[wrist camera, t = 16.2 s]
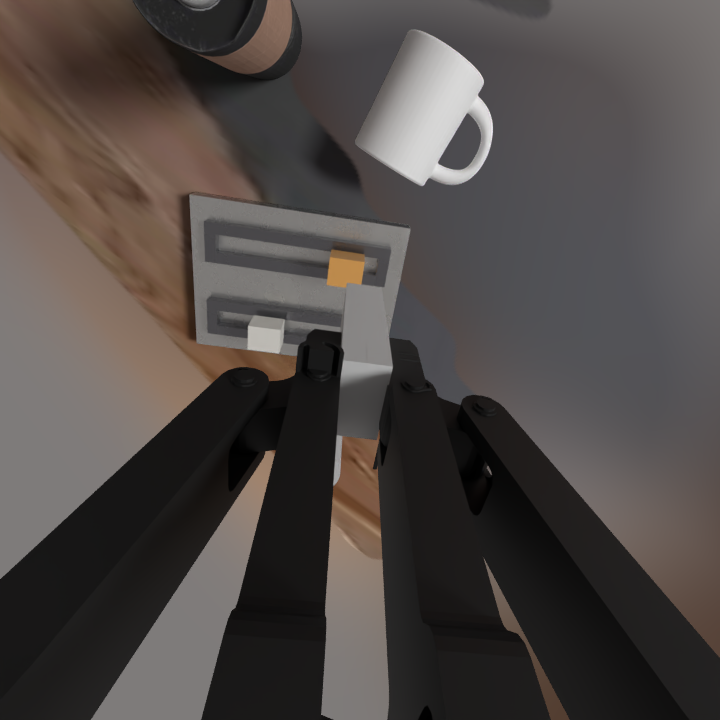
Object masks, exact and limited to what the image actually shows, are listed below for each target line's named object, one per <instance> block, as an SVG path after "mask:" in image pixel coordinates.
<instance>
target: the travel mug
mask: <svg viewBox="0 0 720 720" xmlns="http://www.w3.org/2000/svg"><path fill="white" fill-rule="evenodd" d="M133 2H134V4H135V6H136V7H137V9H138V10H139V11H140V13H141V14H142V16H143V17H144V18H145V19H146V20H147V22H148V23H149V24H150V25H151V26H152V27H153V28H154V29H155V30H156V31H157V32H158V33H160V34H161V35H162V36H164V37H165V38H166V39H168V40H169V41H171V42H173V43H174V44H176V45H178V46H180V47H182V48H185V49H187V50H189V51H191V52H193V53H195V54H197V55H200V56H202V57H204V58H206V59H208V60H210V61H212V62H214V63H217V64H219V65H221V66H223V67H225V68H227V69H229V70H232V71H234V72H237V73H241V74H244V75H248V76H251V77H255V78H259V79H265V80H271V79H276V78H279V77H281V76H283V75H285V74H286V73H287V72H289V71H290V69H291V68H292V67H293V66H294V64H295V63H296V61H297V59H298V56H299V53H300V49H301V43H302V32H301V25H300V21H299V18H298V15H297V12H296V10H295V7H294V5H293V2H292V0H133Z"/></svg>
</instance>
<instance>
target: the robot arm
mask: <svg viewBox="0 0 720 720" xmlns="http://www.w3.org/2000/svg"><path fill="white" fill-rule="evenodd" d="M379 430H380V440H379V444H378V449H377V453H376V457H375V462H374V466H373V469H377V466H378V480H379V500H380V520H381V539H382V559H383V577H384V578H383V579H384V598H385V616H386V617H385V618H386V638H387V657H388V678H389V711H388V719H387V720H551V719H550V716H549V713H548V710H547V707H546V704H545V701H544V698H543V695H542V691H541V688H540V685H539V682H538V679H537V676H536V673H535V669H534V666H533V663H532V660H531V657H530V655H529V652H528V650H527V647H526V645H525V643H524V641H523V640H522V639H521V638H520V636H519V635H518V634H517V633H514V632H511V631H508V630H507V629H506V628H505V627H504V625H503V623H502V621H501V618H500V615H499V611H498V608H497V604H496V601H495V597H494V594H493V590H492V586H491V583H490V580H489V576H488V572H487V569H486V565H485V562H484V559H485V561H486V563H487V564H488V566H489V568H490V570H491V572H492V574H493V576H494V578H495V579H496V581H497V583H498V585H499V587H500V589H501V591H502V593H503V595H504V596H505V598H506V600H507V602H508V604H509V606H510V608H511V610H512V611H513V613H514V615H515V617H516V619H517V621H518V623H519V625H520V627H521V628H522V630H523V632H524V634H525V636H526V638H527V640H528V642H529V644H530V645H531V647H532V649H533V651H534V653H535V655H536V656H537V659H538V660H539V662H540V664H541V666H542V668H543V670H544V672H545V674H546V676H547V677H548V679H549V681H550V683H551V685H552V687H553V689H554V691H555V692H556V694H557V696H558V698H559V700H560V702H561V704H562V706H563V708H564V709H565V711H566V713H567V715H568V717H569V719H570V720H720V658H719V657H718V655H717V654H716V653H715V652H714V651H713V650H712V649H711V647H710V646H709V645H708V644H707V643H706V642H705V640H704V639H703V638H702V637H701V636H700V635H699V634H698V632H697V631H696V630H695V629H694V628H693V626H692V625H691V624H690V623H689V622H688V621H687V620H686V618H685V617H684V616H683V615H682V614H681V612H680V611H679V610H678V609H677V608H676V607H675V606H674V604H673V603H672V602H671V601H670V600H669V599H668V597H667V596H666V595H665V594H664V593H663V592H662V590H661V589H660V588H659V587H658V586H657V585H656V584H655V582H654V581H653V580H652V579H651V578H650V576H649V575H648V574H647V573H646V572H645V571H644V570H643V568H642V567H641V566H640V565H639V564H638V563H637V561H636V560H635V559H634V558H633V557H632V556H631V554H629V552H628V551H627V550H626V549H625V547H624V546H623V545H622V544H621V543H620V542H619V541H618V539H617V538H616V537H615V536H614V535H613V534H612V532H610V530H609V529H608V528H607V527H606V525H605V524H604V523H603V522H602V521H601V520H600V518H599V517H598V516H597V515H596V514H595V513H594V511H593V510H592V509H591V508H590V507H589V506H588V504H587V503H586V502H585V501H584V500H583V499H582V498H581V497H580V495H579V494H578V493H577V492H576V491H575V489H574V488H573V487H572V486H571V485H570V484H569V482H568V481H567V480H566V479H565V478H564V477H563V476H562V474H561V473H560V472H559V471H558V470H557V469H556V467H555V466H554V465H553V464H552V463H551V462H550V460H549V459H548V458H547V457H546V456H545V455H544V453H543V452H542V451H541V450H540V449H539V448H538V446H537V445H536V444H535V443H534V442H533V441H532V440H531V438H530V437H529V436H528V435H527V434H526V432H525V431H524V430H523V429H522V428H521V427H520V426H519V424H518V423H517V422H516V421H515V420H514V419H513V418H512V416H511V415H510V414H509V413H508V412H507V410H505V408H504V407H503V406H502V405H500V404H499V403H498V402H496V401H494V400H492V399H491V398H488V397H485V396H479V395H471V396H466V397H465V398H463V399H462V402H461V405H459V404H455V403H452V402H449V401H446V400H444V399H441V398H440V397H438V396H437V393H436V389H435V388H434V386H433V384H431V383H430V382H429V381H428V380H426V379H425V377H424V373H423V369H422V365H421V363H420V358H419V354H418V350H417V347H416V346H415V345H414V344H413V343H412V342H411V341H409V340H402V339H395V338H389V335H388V328H387V320H386V313H385V306H384V299H383V292H382V288H381V287H374V286H367V285H360V284H353V283H347V285H346V292H345V299H344V306H343V313H342V320H341V328H340V332H335V331H328V330H320V329H314V330H312V331H311V332H310V333H309V334H307V338H306V341H304V342H302V343H300V345H299V346H298V351H297V363H296V373H295V375H294V376H292V377H290V378H288V379H285V380H279V381H269V379H268V376H267V375H266V374H265V373H264V372H262V371H260V370H257V369H255V368H249V367H239V368H234V369H231V370H228V371H226V372H225V373H223V374H222V375H221V376H219V377H218V378H217V379H216V380H215V381H214V382H213V383H212V384H211V385H210V386H209V387H208V388H207V389H206V390H204V391H203V392H202V393H201V394H200V395H199V396H198V397H197V398H196V399H195V400H194V401H192V402H191V403H190V404H189V405H188V406H187V407H186V408H185V409H184V410H183V411H182V412H181V413H180V414H178V416H176V417H175V418H174V419H173V420H172V421H171V422H170V423H169V424H168V425H167V426H165V427H164V428H163V429H162V430H161V431H160V432H159V433H158V434H157V435H156V436H155V437H154V438H152V439H151V440H150V441H149V442H148V443H147V444H146V445H145V446H144V447H143V448H142V449H141V450H140V451H138V452H137V454H135V455H134V456H133V457H132V458H131V459H130V460H129V461H128V462H127V463H126V464H124V465H123V466H122V467H121V468H120V469H119V470H118V471H117V472H116V473H115V474H114V475H113V476H112V477H110V478H109V479H108V480H107V481H106V482H105V483H104V484H103V485H102V486H101V487H100V488H99V489H97V491H95V492H94V493H93V494H92V495H91V496H90V497H89V498H88V499H87V500H85V502H83V503H82V504H81V505H80V506H79V507H78V508H77V509H76V510H75V511H74V512H73V513H72V514H70V515H69V516H68V517H67V518H66V519H65V520H64V521H63V522H62V523H61V524H60V525H58V527H57V528H55V529H54V530H53V531H52V532H51V533H50V534H49V535H48V536H47V537H46V538H44V539H43V540H42V541H41V542H40V543H39V544H38V545H37V546H36V547H35V548H34V549H33V550H31V551H30V552H29V553H28V554H27V555H26V556H25V557H24V558H23V559H22V560H21V561H20V562H19V563H17V565H15V566H14V567H13V568H12V569H11V570H10V571H9V572H8V573H7V574H6V575H5V576H3V577H2V578H1V579H0V720H91V718H92V717H93V715H94V714H95V712H96V711H97V709H98V708H99V706H100V705H101V703H102V702H103V700H104V699H105V697H106V696H107V694H108V692H109V691H110V690H111V688H112V687H113V685H114V684H115V682H116V680H117V679H118V678H119V676H120V674H121V673H122V671H123V670H124V669H125V667H126V665H127V664H128V662H129V661H130V659H131V658H132V656H133V655H134V653H135V652H136V650H137V649H138V647H139V646H140V644H141V643H142V641H143V640H144V638H145V637H146V635H147V634H148V632H149V631H150V629H151V628H152V626H153V624H154V623H155V622H156V620H157V618H158V617H159V615H160V614H161V612H162V611H163V609H164V608H165V606H166V605H167V603H168V602H169V600H170V599H171V597H172V596H173V594H174V593H175V591H176V590H177V588H178V587H179V585H180V584H181V582H182V581H183V579H184V577H185V576H186V575H187V573H188V572H189V570H190V568H191V567H192V565H193V564H194V562H195V561H196V559H197V558H198V556H199V555H200V553H201V552H202V550H203V549H204V547H205V546H206V544H207V543H208V541H209V540H210V538H211V537H212V535H213V534H214V532H215V531H216V529H217V527H218V526H219V525H220V523H221V522H222V520H223V518H224V517H225V515H226V514H227V512H228V511H229V509H230V508H231V506H232V505H233V503H234V502H235V500H236V499H237V497H238V495H239V494H240V493H241V491H242V490H243V488H244V487H245V485H246V484H247V482H248V480H249V479H250V478H251V476H252V475H253V473H254V471H255V470H256V468H257V467H258V465H259V464H260V462H261V461H262V459H263V458H264V455H265V451H270V450H276V452H275V456H274V460H273V464H272V468H271V472H270V476H269V480H268V484H267V488H266V492H265V496H264V500H263V504H262V508H261V512H260V516H259V520H258V524H257V528H256V532H255V536H254V540H253V544H252V548H251V552H250V557H249V560H248V563H247V567H246V572H245V576H244V579H243V583H242V587H241V591H240V596H239V599H238V602H237V605H236V608H235V609H233V610H232V611H231V614H230V616H229V618H228V622H227V625H226V628H225V632H224V635H223V639H222V643H221V647H220V650H219V654H218V658H217V662H216V666H215V670H214V673H213V678H212V681H211V685H210V688H209V692H208V696H207V700H206V704H205V708H204V711H203V715H202V719H201V720H333V719H330V718H327V717H325V716H323V715H321V706H322V691H323V690H322V689H323V675H324V659H325V642H326V617H325V600H326V585H327V571H328V556H329V541H330V527H331V512H332V497H333V483H334V468H335V453H336V439H337V435H339V436H347V437H356V438H365V439H373V440H377V436H378V432H379ZM487 466H489V468H490V470H491V472H492V475H491V474H490V473H489V471H488V470H487ZM483 557H484V558H483Z"/></svg>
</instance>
